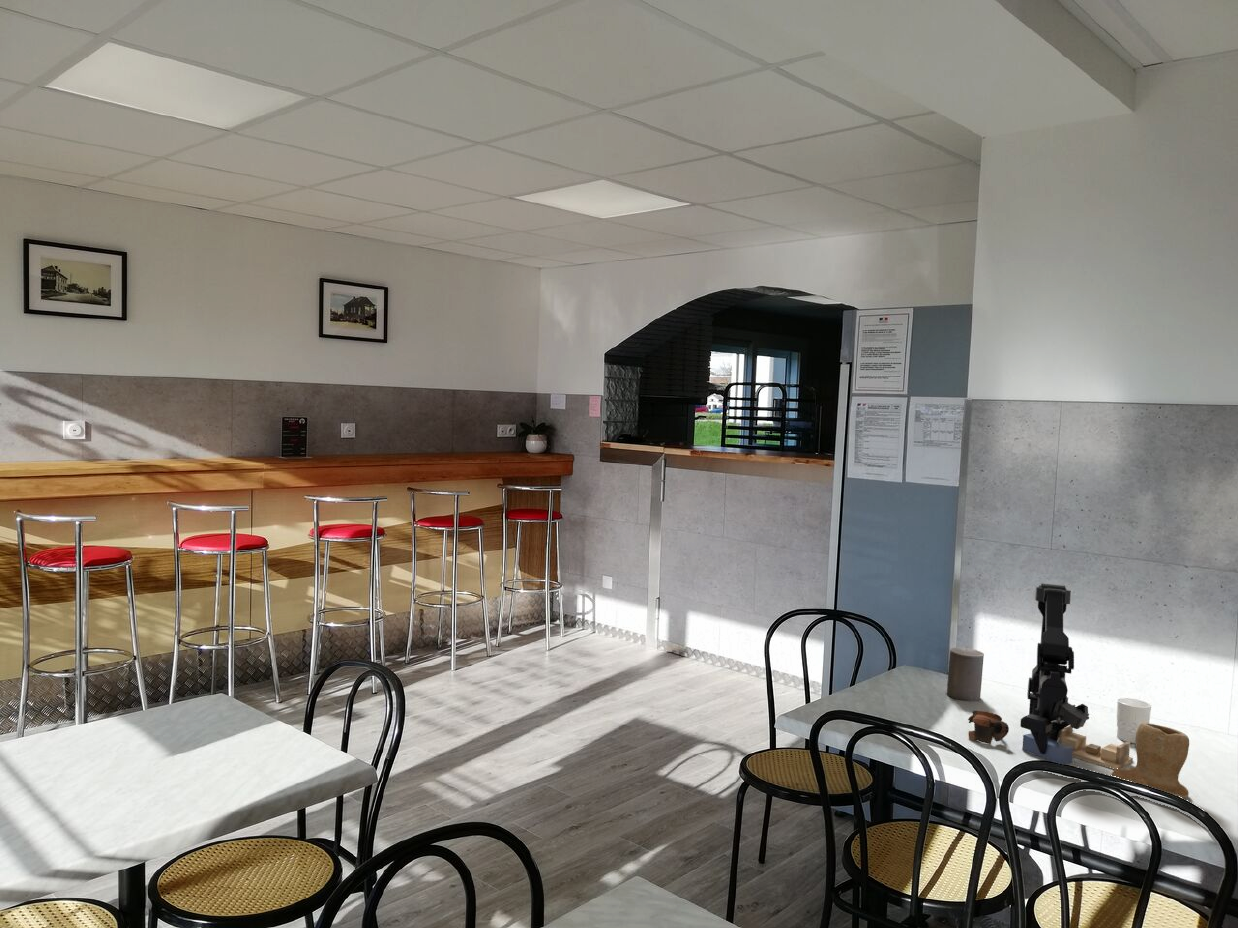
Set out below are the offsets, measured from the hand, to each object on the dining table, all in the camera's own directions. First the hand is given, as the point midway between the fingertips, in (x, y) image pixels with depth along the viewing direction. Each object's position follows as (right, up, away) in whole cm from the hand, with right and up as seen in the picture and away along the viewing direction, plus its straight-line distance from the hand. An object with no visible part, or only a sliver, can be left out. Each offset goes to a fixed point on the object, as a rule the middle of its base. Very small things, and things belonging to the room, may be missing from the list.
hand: (1047, 751), depth 230 cm
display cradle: (+12, -1, +1) cm, 12 cm away
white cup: (+29, -2, +15) cm, 33 cm away
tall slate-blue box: (0, -1, 0) cm, 1 cm away
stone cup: (+15, -3, -19) cm, 24 cm away
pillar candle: (-3, +2, +48) cm, 48 cm away
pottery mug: (-11, 0, +10) cm, 15 cm away
